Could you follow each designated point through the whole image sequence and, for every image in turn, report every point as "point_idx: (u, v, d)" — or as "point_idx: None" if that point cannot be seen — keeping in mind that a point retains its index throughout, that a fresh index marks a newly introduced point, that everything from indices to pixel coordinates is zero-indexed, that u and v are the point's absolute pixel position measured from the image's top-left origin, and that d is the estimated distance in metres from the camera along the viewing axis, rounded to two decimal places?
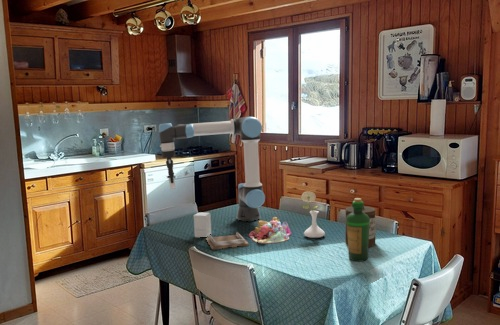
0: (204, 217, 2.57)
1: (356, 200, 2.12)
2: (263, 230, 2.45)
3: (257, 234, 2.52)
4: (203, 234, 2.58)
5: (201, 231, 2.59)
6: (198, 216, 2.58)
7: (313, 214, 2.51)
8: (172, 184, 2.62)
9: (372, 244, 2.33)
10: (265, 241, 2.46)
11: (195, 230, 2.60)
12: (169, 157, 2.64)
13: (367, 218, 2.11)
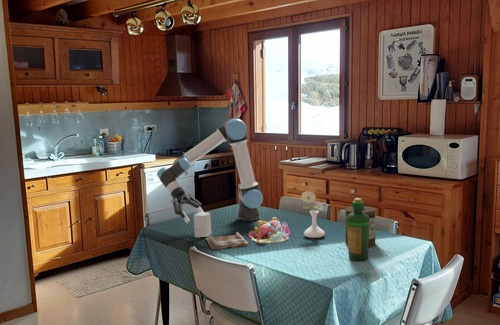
0: (204, 217, 2.57)
1: (356, 200, 2.12)
2: (263, 230, 2.45)
3: (256, 234, 2.53)
4: (203, 234, 2.58)
5: (201, 231, 2.59)
6: (198, 216, 2.58)
7: (313, 214, 2.51)
8: (185, 218, 2.58)
9: (372, 244, 2.33)
10: (264, 241, 2.46)
11: (195, 230, 2.60)
12: (175, 196, 2.65)
13: (367, 218, 2.11)
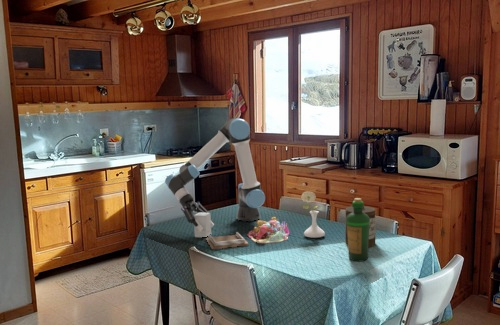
0: (204, 217, 2.57)
1: (356, 200, 2.12)
2: (262, 230, 2.46)
3: (256, 234, 2.53)
4: (203, 234, 2.58)
5: (201, 231, 2.59)
6: (198, 216, 2.58)
7: (313, 214, 2.51)
8: (198, 226, 2.57)
9: (372, 244, 2.33)
10: (264, 241, 2.47)
11: (195, 230, 2.60)
12: (183, 203, 2.63)
13: (367, 218, 2.11)
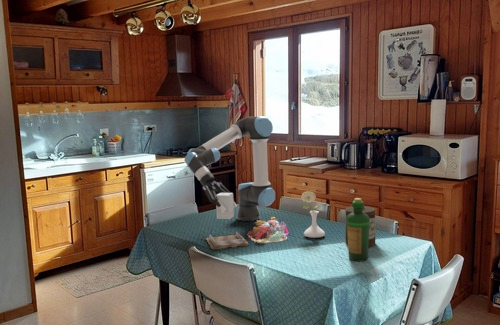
0: (227, 197, 2.41)
1: (356, 200, 2.12)
2: (261, 230, 2.46)
3: (255, 234, 2.53)
4: (226, 215, 2.42)
5: (224, 212, 2.42)
6: (221, 196, 2.42)
7: (313, 214, 2.51)
8: (221, 207, 2.40)
9: (372, 244, 2.33)
10: (263, 241, 2.47)
11: (217, 211, 2.43)
12: (204, 183, 2.47)
13: (367, 218, 2.11)
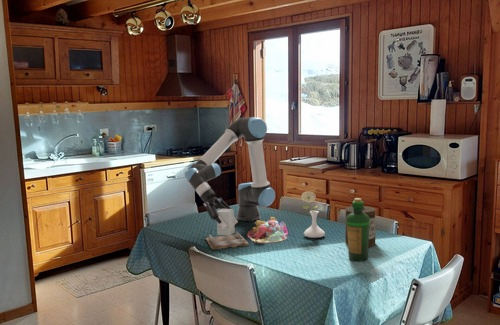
0: (228, 213, 2.42)
1: (356, 200, 2.12)
2: (261, 230, 2.46)
3: (255, 234, 2.53)
4: (226, 231, 2.43)
5: (225, 229, 2.43)
6: (221, 212, 2.43)
7: (313, 214, 2.51)
8: (222, 223, 2.41)
9: (372, 244, 2.33)
10: (263, 241, 2.47)
11: (218, 227, 2.44)
12: (205, 199, 2.48)
13: (367, 218, 2.11)
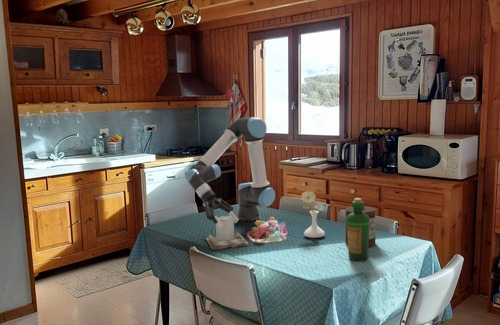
0: (227, 221, 2.42)
1: (356, 200, 2.12)
2: (261, 230, 2.46)
3: (254, 234, 2.53)
4: (225, 239, 2.43)
5: (224, 236, 2.43)
6: (220, 220, 2.43)
7: (313, 214, 2.51)
8: (218, 223, 2.40)
9: (372, 244, 2.33)
10: (263, 241, 2.47)
11: (217, 234, 2.45)
12: (205, 200, 2.48)
13: (367, 218, 2.11)
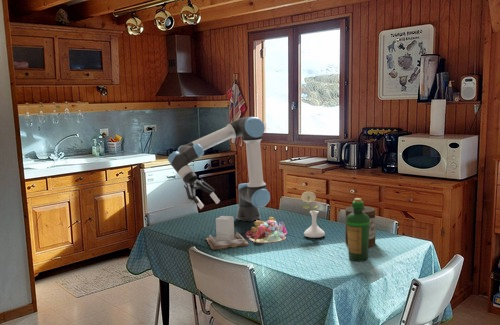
0: (227, 221, 2.42)
1: (356, 200, 2.12)
2: (260, 230, 2.46)
3: (254, 234, 2.53)
4: (225, 239, 2.43)
5: (224, 236, 2.43)
6: (220, 220, 2.43)
7: (313, 214, 2.51)
8: (199, 203, 2.46)
9: (372, 244, 2.33)
10: (262, 241, 2.47)
11: (217, 234, 2.45)
12: (187, 181, 2.53)
13: (367, 218, 2.11)
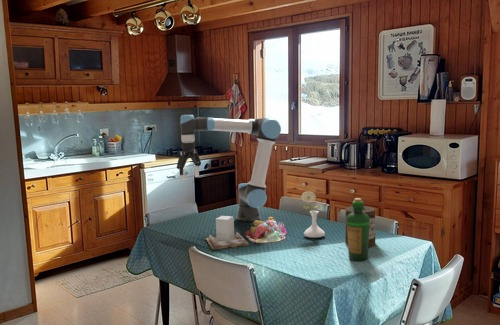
0: (227, 221, 2.42)
1: (356, 200, 2.12)
2: (259, 230, 2.46)
3: (253, 234, 2.53)
4: (225, 239, 2.43)
5: (224, 236, 2.43)
6: (220, 220, 2.43)
7: (313, 214, 2.51)
8: (182, 176, 2.64)
9: (372, 244, 2.33)
10: (261, 241, 2.47)
11: (217, 234, 2.45)
12: (184, 149, 2.65)
13: (367, 218, 2.11)
